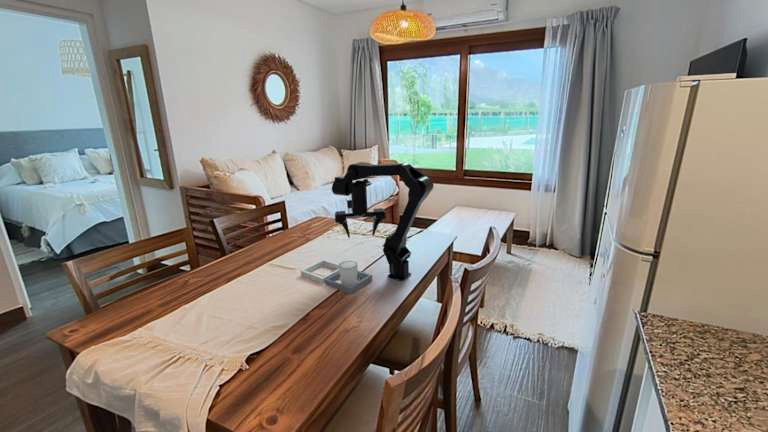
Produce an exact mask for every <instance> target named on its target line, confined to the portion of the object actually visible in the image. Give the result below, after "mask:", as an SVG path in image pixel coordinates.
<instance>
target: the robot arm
mask: <svg viewBox="0 0 768 432" xmlns="http://www.w3.org/2000/svg"><path fill="white" fill-rule="evenodd" d="M386 176H387V177H389V176H390V177H392V176H399V177H400V178H401V180H402V182H403V184H404V186H406V187H407V188H408V191H407V192H408V193H407V197H408V198H407V202H406V206H405V208H404V210H403V212H402V215H401V217H400V219H399V221H398V224H397V226H396V229H395V231H393V232H392V233H390V234H389V235H388V236H386V238H385V239H384V240H385V241H384V243H383V244H382V248H383V249H382V253H383V254H384V255H385V258H386V261H387V264H388V265H389V267H388V268H389V270H388V271H389V272H388V273H389V274H388V275H387V277H388V278H391V279H394V280H397V281H400V282H403V281H404V280H405V279H407V278H408V277H410V276H411V275H412V273H411V272H409V271H410V270H409V269H410V268H409V266H410V265H409V264H410V262H409V260H408V259H409V258H410V257H411V254H412V252H411V251H410V250H409V248H407V235H408V233H409V231H410V229H411V227H412V224H413V223H414V220H415V219H416V215H417V214H418V211H419V209H420V207H421V205H422V203H423V202H424V201H425V200H426V199H427V198H428V196H429V195H430V194H431V192H432V191H433V190H434V186H435V185H434V182H433V180H432V179H431V178H430V177H429V176H425V174H424V173H423V172H421V171H420V170H418V169H417V168H415V167H414V166H412V165H411V164H410V163H408V162H402V163H401V162H400V163H382V164H381V163H380V164H373V163H370V162H365V161H364V162H363V161H359V162H356V163H352V164H349V166H348V167H347V170H346V173H345V175H344V177H342V176H336V177H334V181H333V183H332V186H331V192H332V194H333V195H337V196H345V197H348V196H351V199H348V200H346V202H347V203H346V204H347V206H346V207H347V209H351V212H346V211H345V210H339V211H338V210H337V211H335V212H334V218H335V219H334V221H335V223H338V225H340V226H341V225H342V227H343V229H344V230H345V232H346V236H347V237H348V239H350V237H351V235H350V230H349V224H348V220H349V219H359V218H372V231H371V232H372V234H371V235H372V237H375V235H376V231H377V228H378V227H379V224H380V222H383V220H385V219H387V217H386V216H387V214H386V211H385V209H384V208H383V207H382V208H379V207H378V208H373V211H368V196H367V195H368V193H367V191H368V190H367V187H369V186H372V182H371V181H369V179H368V178H371V177H386ZM361 179H363V180H361ZM347 219H348V220H347Z"/></svg>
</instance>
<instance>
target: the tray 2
mask: <svg viewBox="0 0 768 432" xmlns="http://www.w3.org/2000/svg"><path fill="white" fill-rule="evenodd" d="M358 277H359V278H361V280H358V281H357V283H356V284H354V285H352V286H345V285H343V284H342V283H339V282H336V281H337V280H338V279H341V277H340V272H338V273H336V274H334V275H332V276H330V277H329V278H327V279H325V283H324V284H325V286H328V287H330V288H333V289H336V290H338V291H342V292H344V293H347V294H349V295H351V294H353V293H354V292H356V291H358V290H359V289H361V288H362V287H364V286H365V285H367V284H369V283H370V282H371V281H373V274H371V273H367V272H364V271H361V270H359V269H357V278H358Z"/></svg>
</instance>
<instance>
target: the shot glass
mask: <svg viewBox="0 0 768 432" xmlns="http://www.w3.org/2000/svg"><path fill="white" fill-rule="evenodd" d="M338 264H339V265H338V266H339V272H340V282H341V283H340V284H343V285H345V286H348V287H351V286H353V285H354V284H356V283H358V276H357V270H359V269H358V265H359V264H358V262H357V261H354V260H345V261H342V262H340V263H338Z"/></svg>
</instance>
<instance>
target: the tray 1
mask: <svg viewBox="0 0 768 432" xmlns="http://www.w3.org/2000/svg"><path fill="white" fill-rule="evenodd" d="M339 264H340V263H337V262H333V261H330V260H327V259H325V258H324V259H322V260H320V261H317V262H315V263H314V264H311V265H309V266H307V267H305V268H303V269H301V270H300V276H302V277H304V278H307V279H309V280H313V281H315V282H316V283H317V282H318V283H320V284H323V285H324V284H325V279H327V278H329V277H330V276H332V275H334V274H336V273H338V272H339V266H338V265H339ZM323 266H326V267H329V268H332V269H334V271H332V272H330V273H329V274H327V275H325V276H320V275H317V274H315V273H312V272H314V271H315V270H317V269H319V268H321V267H323Z"/></svg>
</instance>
